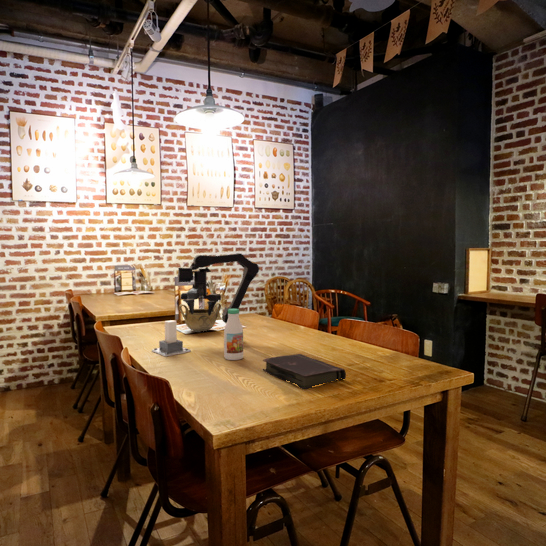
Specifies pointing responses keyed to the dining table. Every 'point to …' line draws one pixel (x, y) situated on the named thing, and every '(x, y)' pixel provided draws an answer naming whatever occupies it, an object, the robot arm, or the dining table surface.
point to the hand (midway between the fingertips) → (200, 315)
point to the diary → (303, 370)
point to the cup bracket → (170, 348)
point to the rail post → (170, 331)
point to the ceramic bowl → (200, 318)
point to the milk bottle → (233, 336)
